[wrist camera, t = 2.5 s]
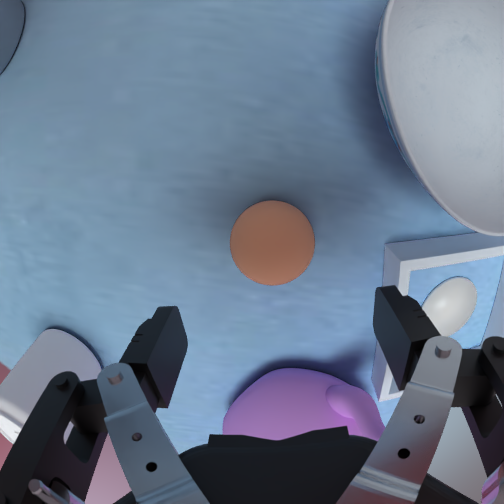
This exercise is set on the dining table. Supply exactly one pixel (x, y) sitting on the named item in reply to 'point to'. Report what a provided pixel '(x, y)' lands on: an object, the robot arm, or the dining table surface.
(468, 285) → the disc
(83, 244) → the dining table surface
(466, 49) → the chinaware
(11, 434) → the beverage can
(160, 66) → the dining table surface
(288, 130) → the dining table surface
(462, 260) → the grey square frame
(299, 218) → the ball
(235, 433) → the teapot
